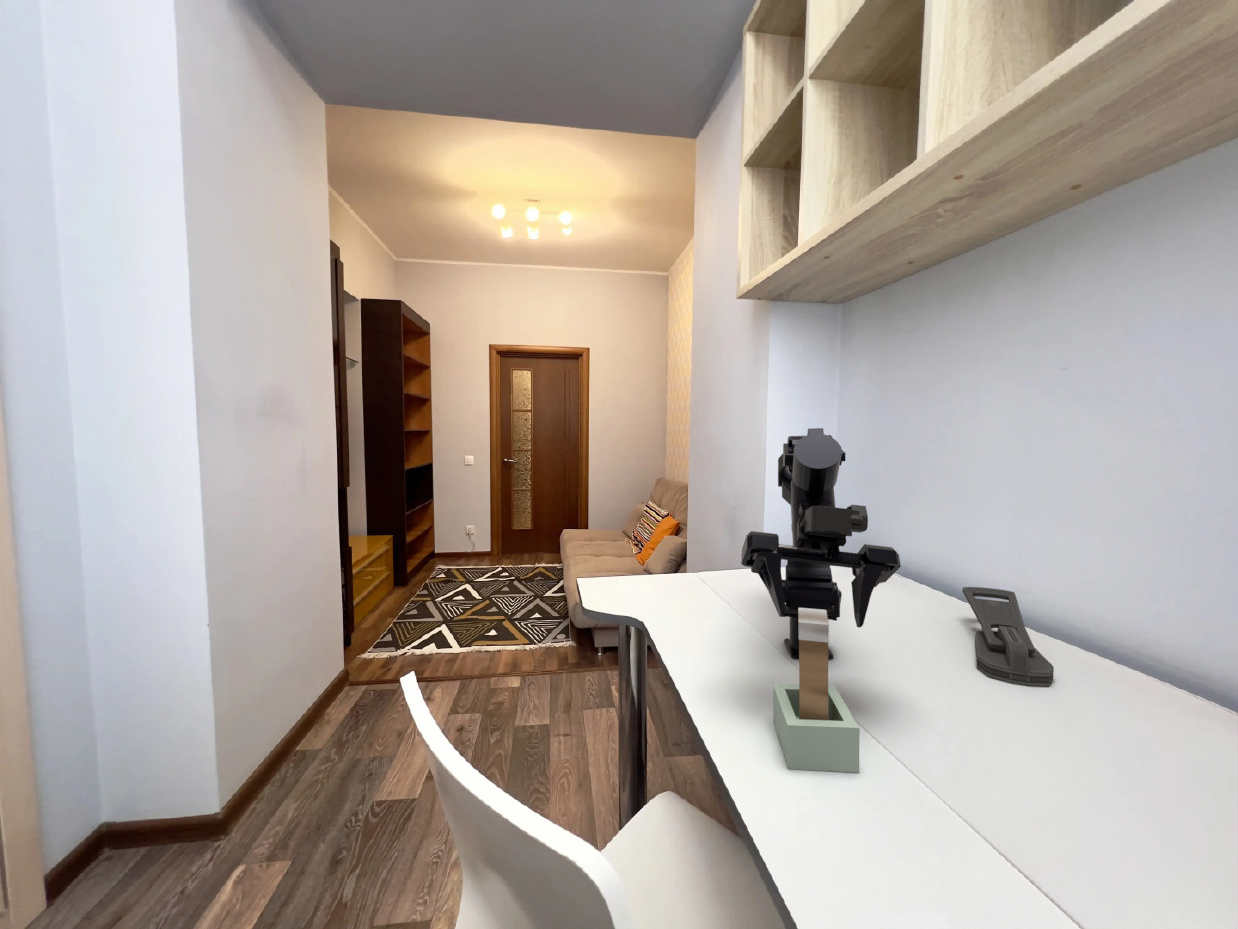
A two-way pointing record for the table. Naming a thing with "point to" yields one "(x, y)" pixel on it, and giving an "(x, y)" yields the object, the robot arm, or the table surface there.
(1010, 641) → the zipper pull
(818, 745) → the post foot
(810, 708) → the rail end
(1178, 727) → the table surface
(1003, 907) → the table surface
